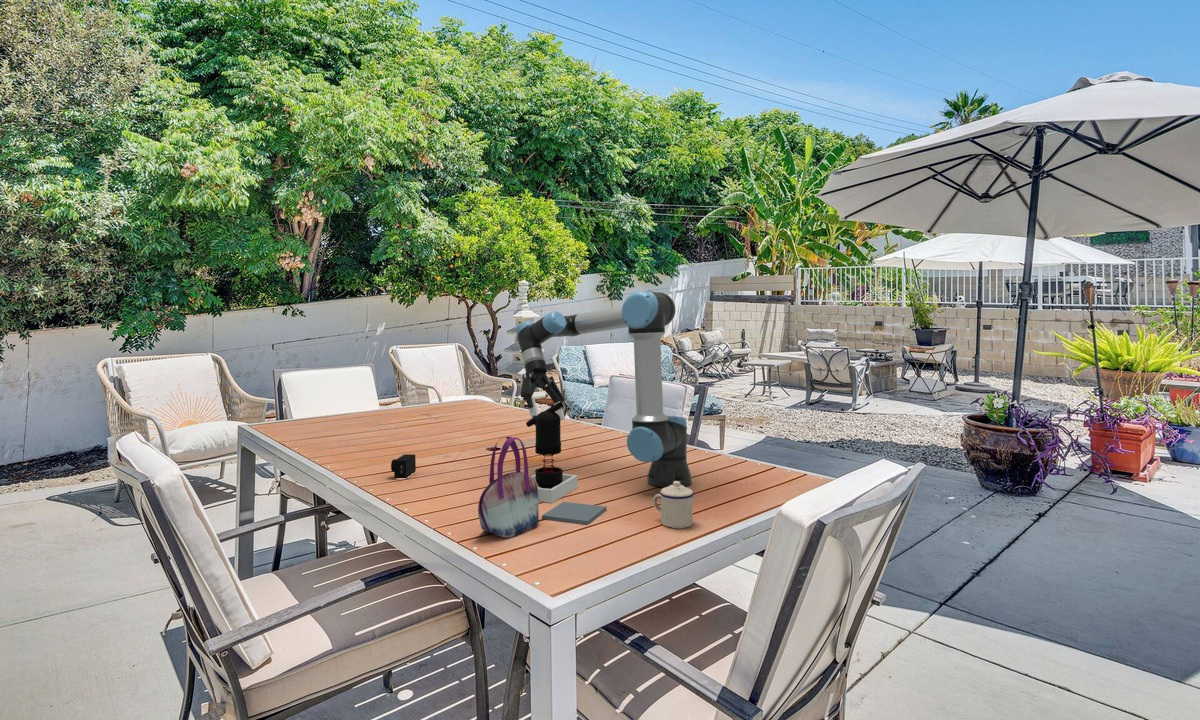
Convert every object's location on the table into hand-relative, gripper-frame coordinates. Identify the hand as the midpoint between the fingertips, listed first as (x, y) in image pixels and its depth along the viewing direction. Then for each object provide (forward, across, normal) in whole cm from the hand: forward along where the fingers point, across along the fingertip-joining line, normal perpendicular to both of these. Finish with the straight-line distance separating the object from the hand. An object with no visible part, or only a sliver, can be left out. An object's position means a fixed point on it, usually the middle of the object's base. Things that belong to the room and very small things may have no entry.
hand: (548, 418), depth 211 cm
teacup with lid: (+48, +6, +38) cm, 61 cm away
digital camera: (+1, +20, -56) cm, 59 cm away
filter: (+25, +5, -5) cm, 26 cm away
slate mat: (+37, +16, +14) cm, 43 cm away
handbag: (+38, +36, +7) cm, 53 cm away
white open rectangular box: (+25, +5, -4) cm, 26 cm away
